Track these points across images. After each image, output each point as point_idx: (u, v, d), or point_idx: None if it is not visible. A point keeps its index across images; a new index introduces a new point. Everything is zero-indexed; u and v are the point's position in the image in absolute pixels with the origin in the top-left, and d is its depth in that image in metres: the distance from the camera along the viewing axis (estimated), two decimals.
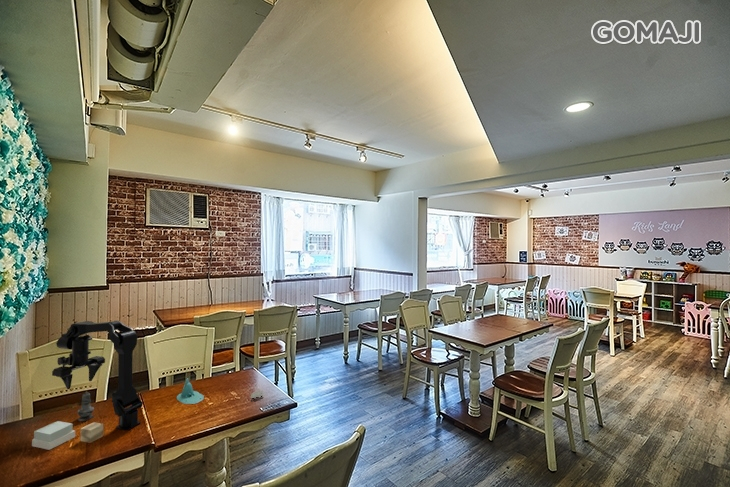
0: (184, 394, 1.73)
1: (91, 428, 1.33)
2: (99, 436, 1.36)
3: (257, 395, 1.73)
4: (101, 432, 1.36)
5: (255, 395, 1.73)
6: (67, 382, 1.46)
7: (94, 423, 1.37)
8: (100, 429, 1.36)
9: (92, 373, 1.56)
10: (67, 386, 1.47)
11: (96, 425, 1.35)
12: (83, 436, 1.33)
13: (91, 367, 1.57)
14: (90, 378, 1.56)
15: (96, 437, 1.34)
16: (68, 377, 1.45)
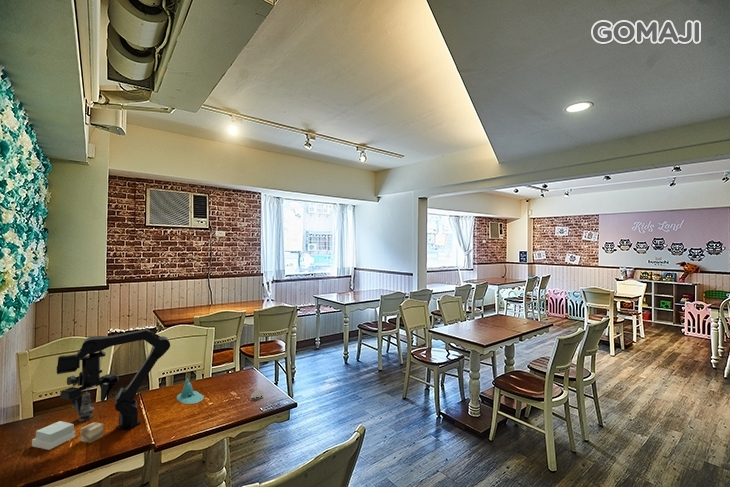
0: (184, 394, 1.73)
1: (91, 428, 1.33)
2: (99, 436, 1.36)
3: (257, 395, 1.73)
4: (101, 432, 1.36)
5: (255, 395, 1.73)
6: (76, 405, 1.32)
7: (94, 423, 1.37)
8: (100, 429, 1.36)
9: (104, 393, 1.42)
10: (76, 409, 1.33)
11: (96, 425, 1.35)
12: (83, 436, 1.33)
13: (103, 386, 1.43)
14: (102, 399, 1.42)
15: (96, 437, 1.34)
16: (77, 400, 1.31)
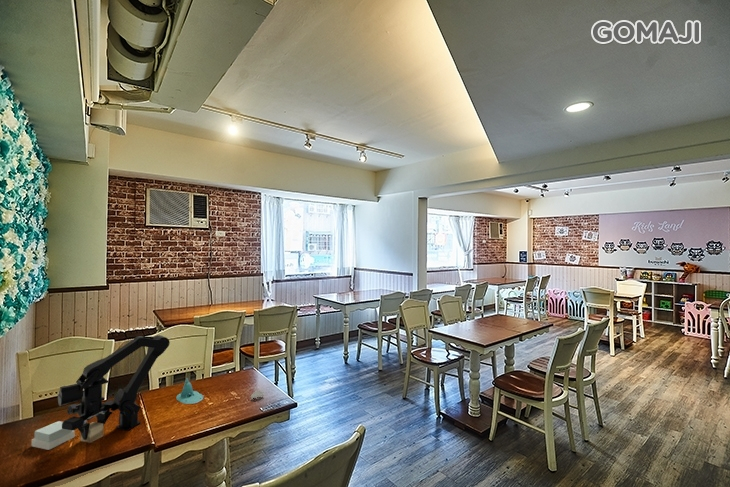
0: (184, 394, 1.73)
1: (91, 428, 1.33)
2: (99, 436, 1.36)
3: (257, 395, 1.73)
4: (101, 432, 1.36)
5: (255, 396, 1.73)
6: (84, 432, 1.31)
7: (94, 423, 1.37)
8: (100, 429, 1.36)
9: None
10: (84, 436, 1.32)
11: (96, 425, 1.35)
12: None
13: (100, 416, 1.38)
14: None
15: (96, 437, 1.34)
16: (85, 427, 1.30)
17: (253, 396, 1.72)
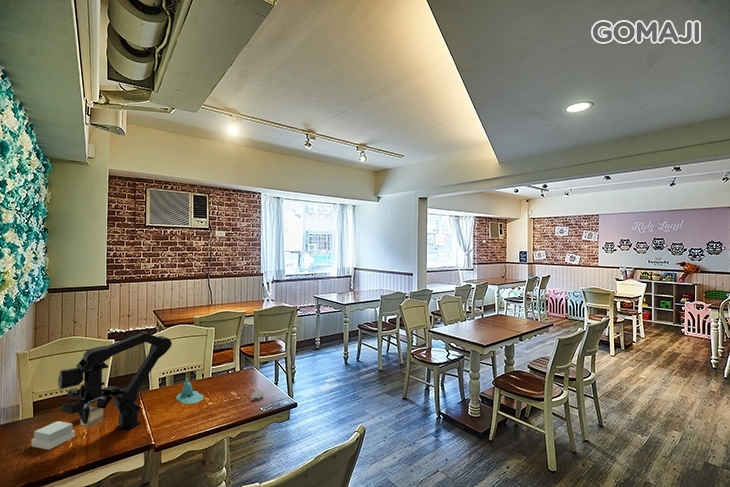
0: (184, 394, 1.73)
1: (91, 412, 1.33)
2: (99, 421, 1.36)
3: (257, 396, 1.73)
4: (101, 416, 1.36)
5: (255, 396, 1.72)
6: (84, 416, 1.31)
7: (94, 408, 1.37)
8: (100, 413, 1.36)
9: None
10: (84, 420, 1.32)
11: (96, 410, 1.35)
12: None
13: (100, 401, 1.38)
14: None
15: (96, 421, 1.34)
16: (85, 411, 1.30)
17: (253, 396, 1.72)
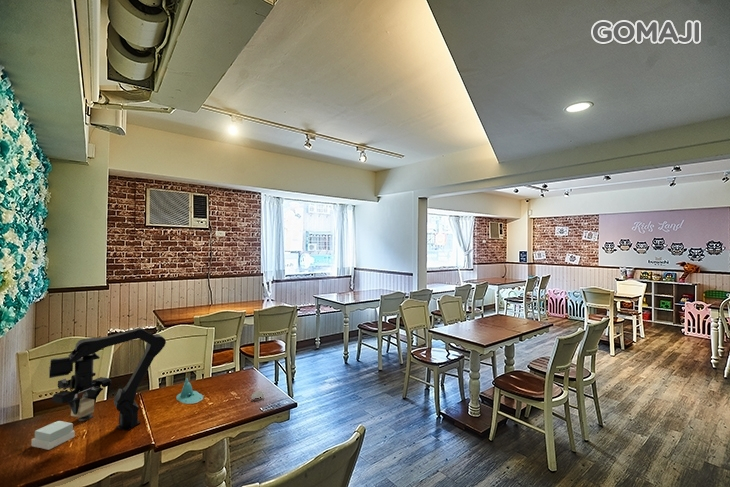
0: (184, 394, 1.73)
1: (82, 403, 1.33)
2: (90, 412, 1.35)
3: (258, 396, 1.73)
4: (92, 407, 1.36)
5: (256, 396, 1.72)
6: (74, 407, 1.30)
7: (85, 398, 1.36)
8: (91, 404, 1.35)
9: None
10: (74, 411, 1.31)
11: (87, 400, 1.35)
12: None
13: (91, 392, 1.38)
14: None
15: (87, 412, 1.34)
16: (75, 401, 1.29)
17: (253, 396, 1.72)
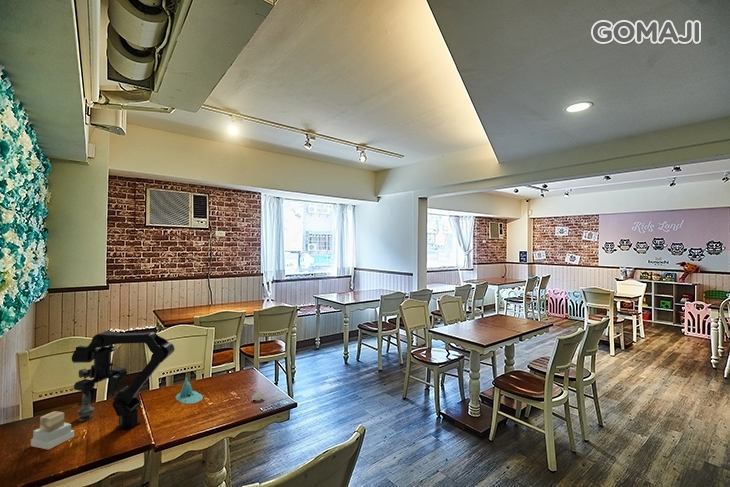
0: (183, 394, 1.73)
1: (51, 417, 1.31)
2: (60, 425, 1.33)
3: (258, 397, 1.71)
4: (62, 421, 1.34)
5: (256, 398, 1.71)
6: (89, 396, 1.38)
7: (55, 412, 1.35)
8: (61, 418, 1.33)
9: (114, 386, 1.48)
10: (89, 400, 1.39)
11: (56, 414, 1.33)
12: (42, 425, 1.30)
13: (113, 379, 1.49)
14: (112, 391, 1.48)
15: (56, 426, 1.32)
16: (90, 391, 1.37)
17: (254, 398, 1.70)
